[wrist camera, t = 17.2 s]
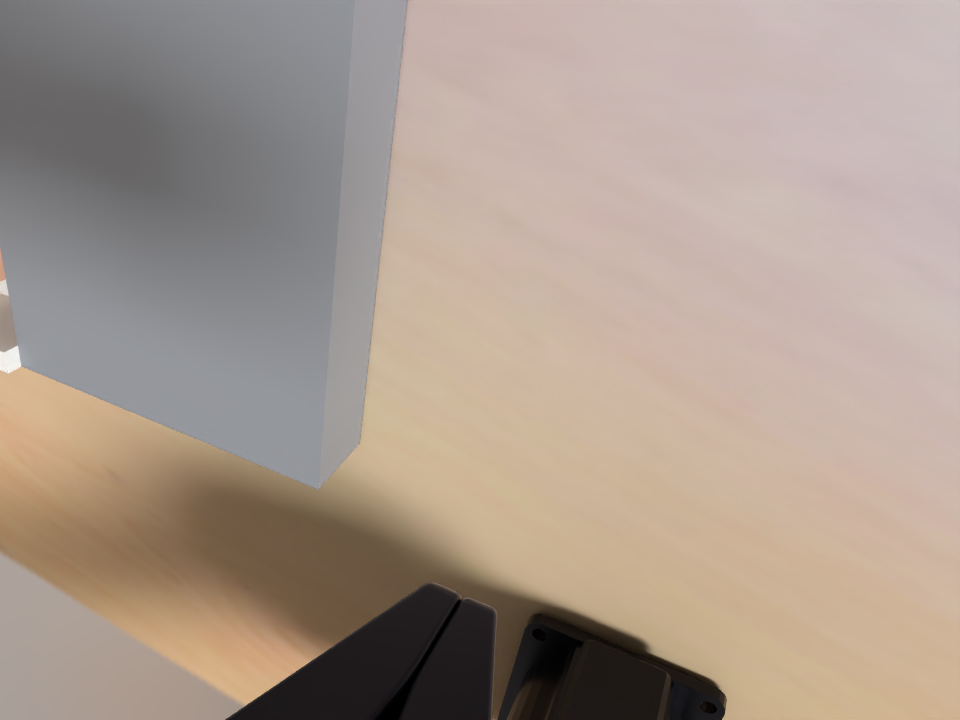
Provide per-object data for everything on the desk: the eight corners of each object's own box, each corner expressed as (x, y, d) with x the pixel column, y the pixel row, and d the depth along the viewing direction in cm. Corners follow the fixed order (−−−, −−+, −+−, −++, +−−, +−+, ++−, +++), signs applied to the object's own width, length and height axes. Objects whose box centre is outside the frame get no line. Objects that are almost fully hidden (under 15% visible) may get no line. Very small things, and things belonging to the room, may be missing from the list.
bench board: (359, 443, 25) (318, 489, 23) (80, 333, 28) (21, 366, 26) (436, -264, 16) (376, -292, 13) (-4, -338, 18) (-110, -371, 16)
